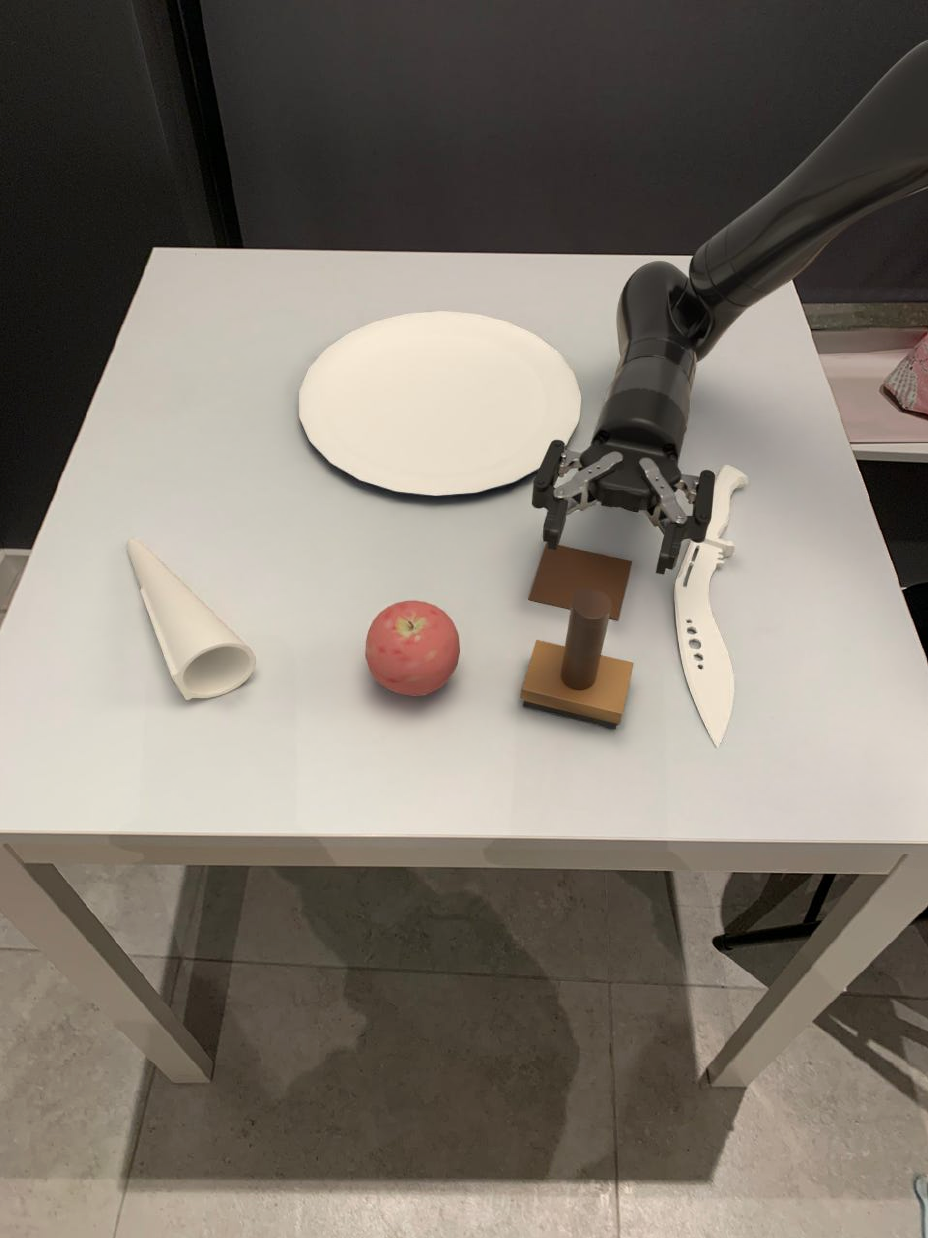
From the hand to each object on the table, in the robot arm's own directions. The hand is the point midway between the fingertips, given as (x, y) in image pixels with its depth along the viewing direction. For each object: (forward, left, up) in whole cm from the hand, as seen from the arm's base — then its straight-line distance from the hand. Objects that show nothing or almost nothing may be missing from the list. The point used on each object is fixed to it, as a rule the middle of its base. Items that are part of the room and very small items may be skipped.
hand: (606, 555), depth 72 cm
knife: (-10, -7, -10) cm, 16 cm away
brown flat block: (+2, -5, -10) cm, 11 cm away
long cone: (+34, +8, -10) cm, 36 cm away
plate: (+21, -24, -10) cm, 34 cm away
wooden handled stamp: (0, +7, -10) cm, 12 cm away
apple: (+13, +9, -10) cm, 19 cm away
